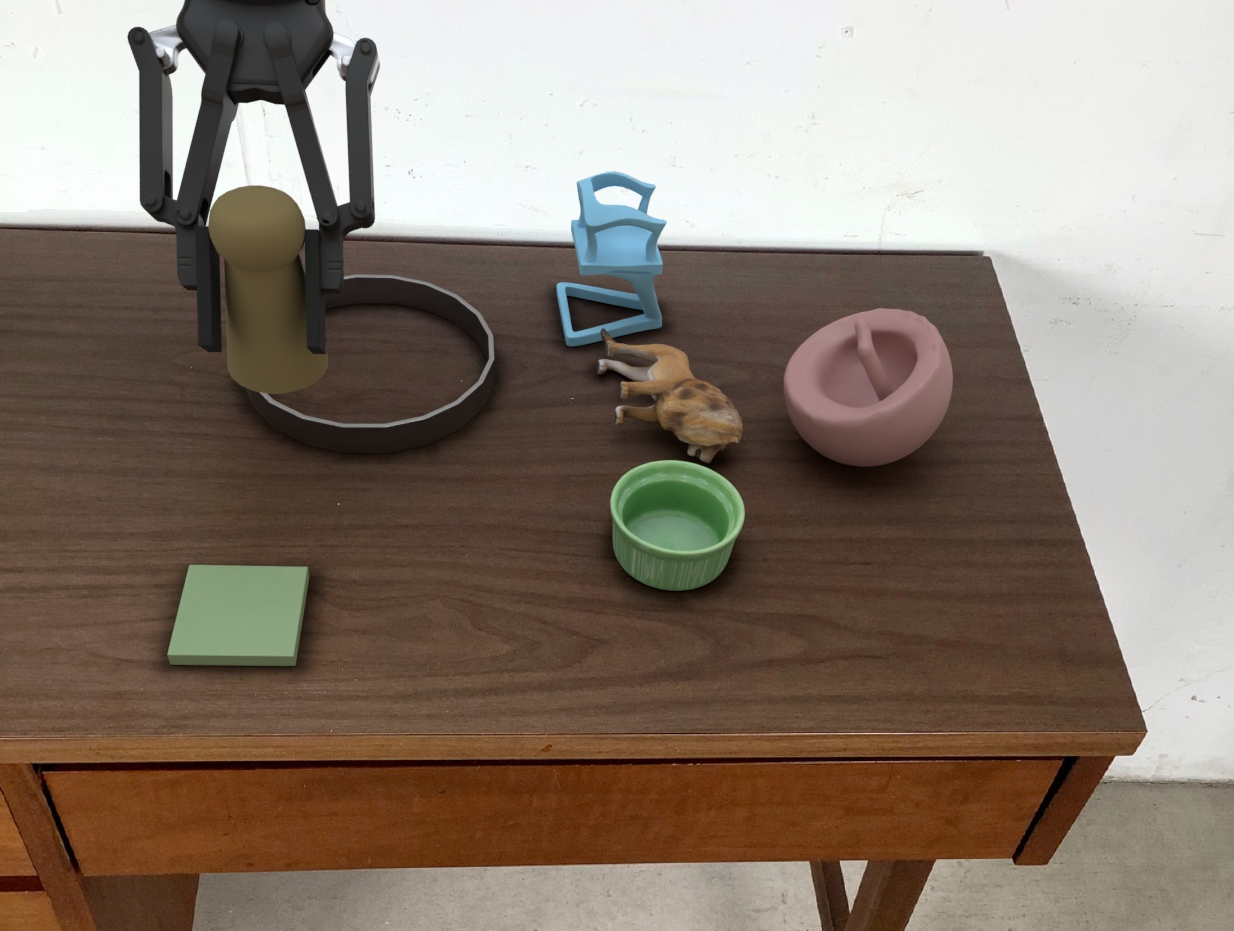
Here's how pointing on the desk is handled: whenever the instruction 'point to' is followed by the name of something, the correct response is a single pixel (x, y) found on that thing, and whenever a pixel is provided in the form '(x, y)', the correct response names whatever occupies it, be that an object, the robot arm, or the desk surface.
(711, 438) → the lion figurine
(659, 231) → the chair
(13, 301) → the desk surface
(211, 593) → the green mat
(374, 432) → the ring
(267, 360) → the olive pawn
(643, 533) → the ramekin
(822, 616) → the desk surface
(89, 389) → the desk surface
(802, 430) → the mortar and pestle
